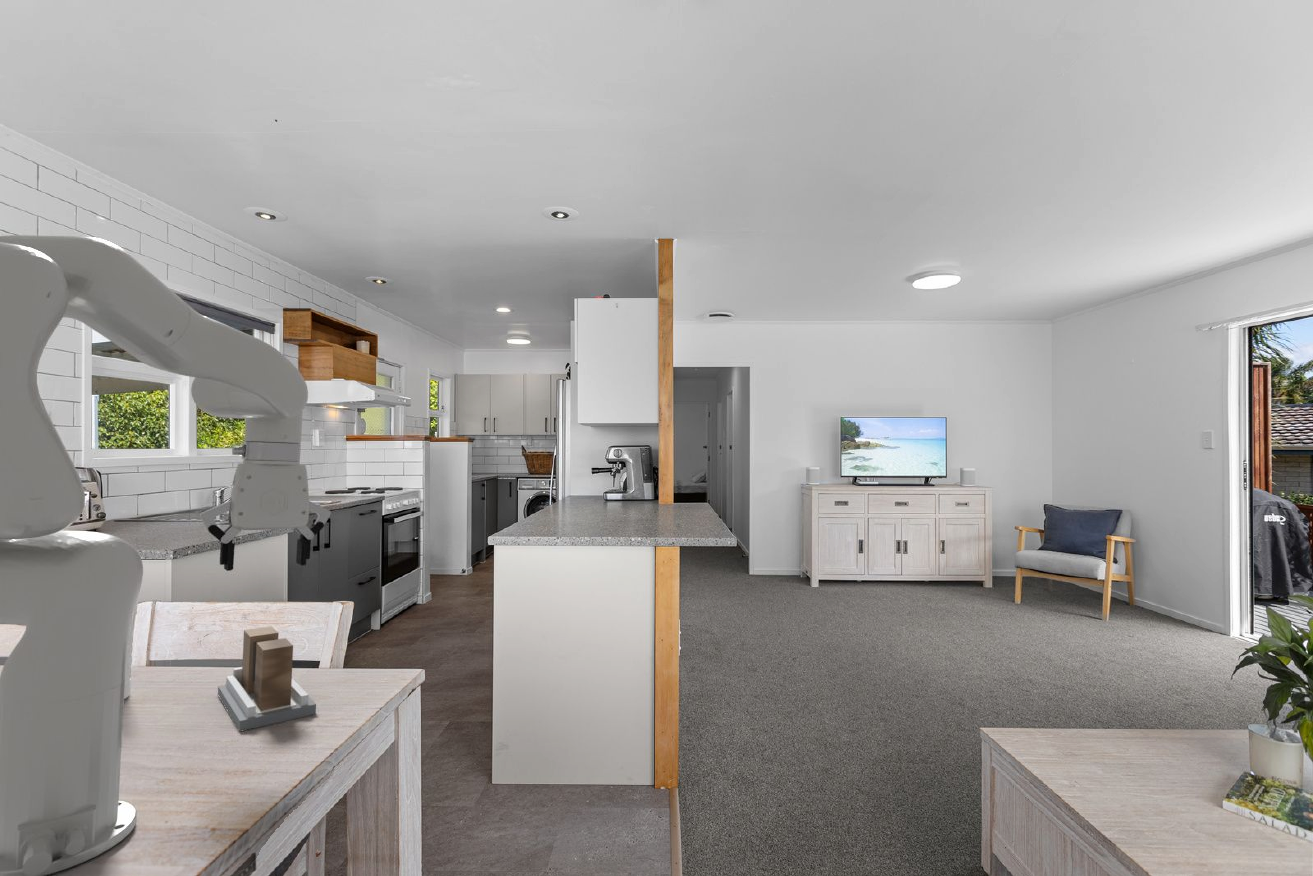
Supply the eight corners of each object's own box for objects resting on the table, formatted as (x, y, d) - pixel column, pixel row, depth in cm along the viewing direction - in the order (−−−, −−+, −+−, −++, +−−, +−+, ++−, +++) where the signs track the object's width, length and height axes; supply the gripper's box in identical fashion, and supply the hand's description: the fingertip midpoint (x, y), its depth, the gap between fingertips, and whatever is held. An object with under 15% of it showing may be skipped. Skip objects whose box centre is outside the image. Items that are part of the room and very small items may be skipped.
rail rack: (315, 714, 98) (318, 645, 98) (239, 731, 91) (242, 657, 92) (286, 682, 111) (288, 621, 112) (217, 695, 104) (220, 631, 105)
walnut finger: (260, 711, 95) (263, 650, 95) (252, 699, 99) (255, 641, 99) (290, 704, 97) (293, 645, 98) (282, 693, 102) (284, 637, 102)
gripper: (208, 452, 89) (200, 575, 89) (339, 457, 101) (334, 565, 100) (200, 453, 95) (193, 568, 94) (326, 457, 107) (320, 560, 106)
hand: (265, 566), depth 97 cm, fingers open, 9 cm apart
